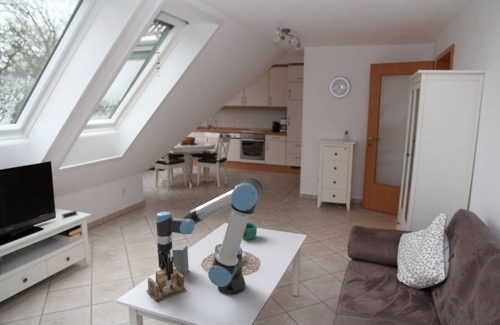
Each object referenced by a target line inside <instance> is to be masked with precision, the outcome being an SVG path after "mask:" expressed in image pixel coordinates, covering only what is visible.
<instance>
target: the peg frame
mask: <svg viewBox="0 0 500 325" xmlns="http://www.w3.org/2000/svg"><path fill="white" fill-rule="evenodd" d="M176 273H177V282H176V283H173V284H171V285H168V286H165V287H163V288H160V289H159V285H158V284H157V283H156V280H155V281H154V279H152V278H151V277H148V278H147V289H146V293H147V294H148V295H149V296H150V298H152V299H153V300H154V301H155V302H156V303H158V302H160V301H164V300H166V299H169V298H170V297H173V296H175V295H179V294H182V293H183V292H185V291H187V287H185V275H184V276H183V275H182V274H181V273H179V272H178V271H177V270H176Z"/></svg>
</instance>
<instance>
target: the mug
mask: <svg viewBox="0 0 500 325" xmlns="http://www.w3.org/2000/svg"><path fill="white" fill-rule="evenodd" d="M257 232H258V231H257V224H255V223H254V222H253V223H252V222H247V225H246V228H245V231H244V235H243V238H242V239H244V240H252V239H255V238H256V236H257Z"/></svg>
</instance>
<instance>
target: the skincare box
mask: <svg viewBox="0 0 500 325" xmlns="http://www.w3.org/2000/svg"><path fill="white" fill-rule="evenodd" d="M171 250H172V253H171V254H172V257H173V266H174V267H175V268H176V270H177V271H178V272H179V273H181V274H182V275H183V276H184V277H185V275H186V274H187V272H188V271H189V270H190V269H189V268H190V267H189V253H188V252H189V251H188V250H189V249H188V245H187V244H177V245H176V246H174V248H172V249H171Z"/></svg>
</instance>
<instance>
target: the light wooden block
mask: <svg viewBox="0 0 500 325" xmlns="http://www.w3.org/2000/svg"><path fill="white" fill-rule="evenodd" d="M165 274H166V268H164V269H159V270H156V271H155V282H156V283H157V284H158V285H159V289H160V288H163V287H165V286H166V279H165ZM176 282H177V273H176V268H175V267H174V266H173V274H171V284H173V283H176Z"/></svg>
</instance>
